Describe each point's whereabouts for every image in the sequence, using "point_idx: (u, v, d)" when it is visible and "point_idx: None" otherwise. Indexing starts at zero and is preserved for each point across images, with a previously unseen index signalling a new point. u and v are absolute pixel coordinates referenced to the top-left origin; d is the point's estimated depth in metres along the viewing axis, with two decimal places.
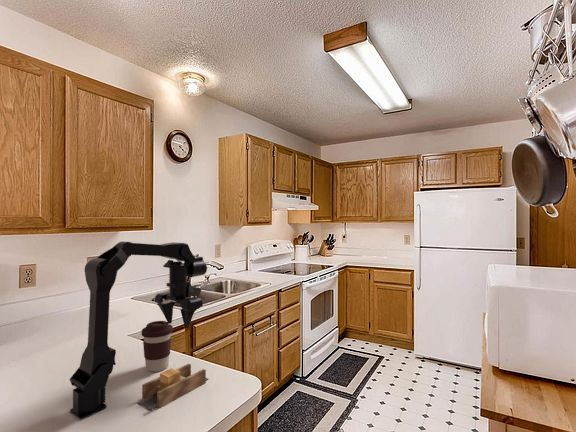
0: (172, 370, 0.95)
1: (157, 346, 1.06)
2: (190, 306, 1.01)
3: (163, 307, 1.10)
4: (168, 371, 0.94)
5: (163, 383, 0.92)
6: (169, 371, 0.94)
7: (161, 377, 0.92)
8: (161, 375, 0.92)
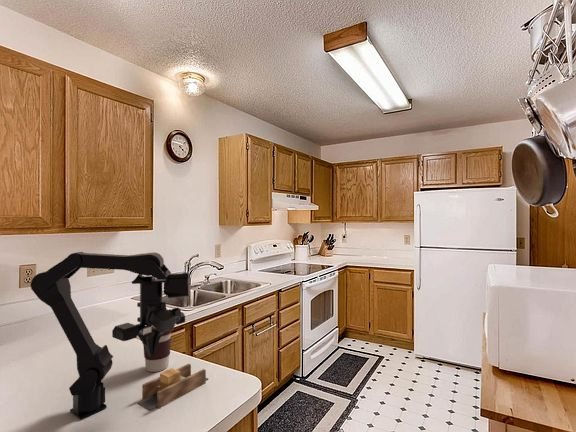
0: (172, 370, 0.95)
1: (157, 346, 1.06)
2: (112, 333, 0.82)
3: None
4: (168, 371, 0.94)
5: (163, 383, 0.92)
6: (169, 371, 0.94)
7: (161, 377, 0.92)
8: (161, 375, 0.92)
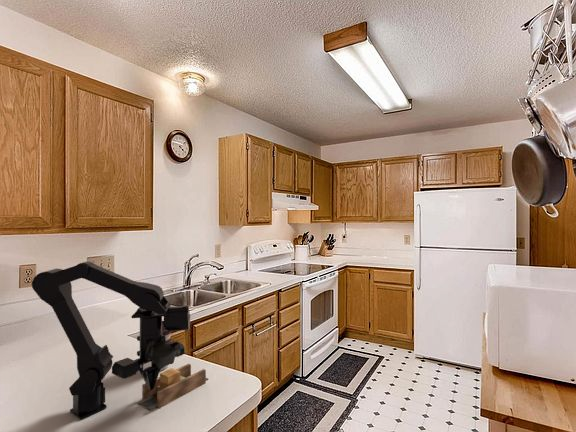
0: (172, 370, 0.95)
1: None
2: None
3: None
4: (168, 371, 0.94)
5: (163, 383, 0.92)
6: (169, 371, 0.94)
7: (161, 377, 0.92)
8: (161, 375, 0.92)
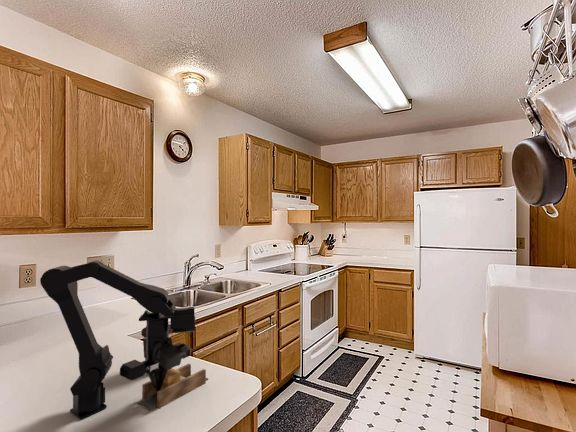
0: (172, 370, 0.95)
1: None
2: None
3: None
4: (168, 371, 0.94)
5: (163, 383, 0.92)
6: (169, 371, 0.94)
7: None
8: None
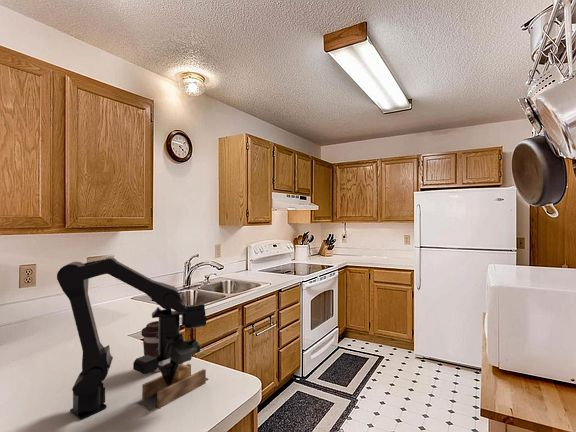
0: (182, 365, 0.98)
1: (157, 346, 1.06)
2: (133, 365, 0.87)
3: None
4: (178, 366, 0.97)
5: (173, 378, 0.95)
6: (179, 366, 0.97)
7: None
8: None
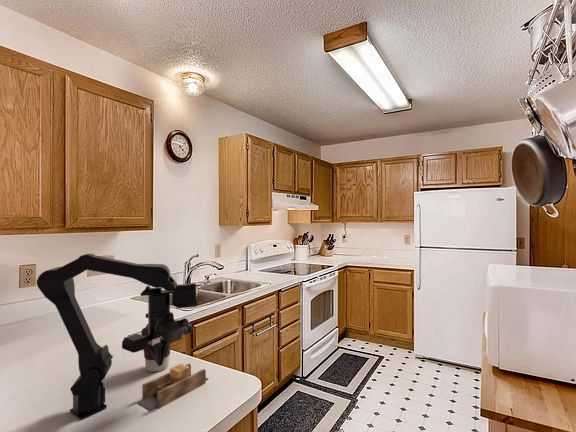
0: (182, 365, 0.98)
1: None
2: (122, 344, 0.84)
3: None
4: (178, 366, 0.97)
5: (173, 378, 0.95)
6: (179, 366, 0.97)
7: (171, 372, 0.95)
8: (171, 370, 0.95)
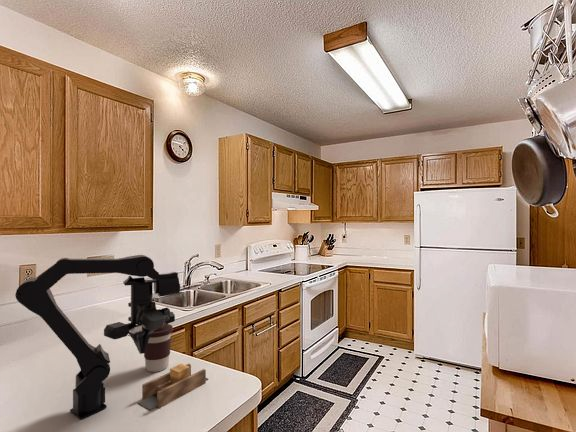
0: (182, 365, 0.98)
1: (157, 346, 1.06)
2: None
3: None
4: (178, 366, 0.97)
5: (173, 378, 0.95)
6: (179, 366, 0.97)
7: (171, 372, 0.95)
8: (171, 370, 0.95)
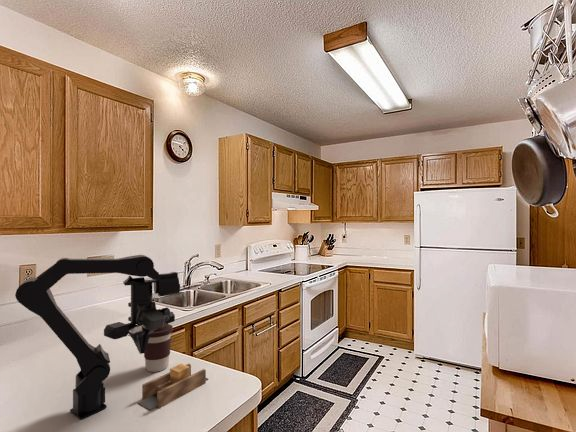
0: (182, 365, 0.98)
1: (157, 346, 1.06)
2: None
3: None
4: (178, 366, 0.97)
5: (173, 378, 0.95)
6: (179, 366, 0.97)
7: (171, 372, 0.95)
8: (171, 370, 0.95)
